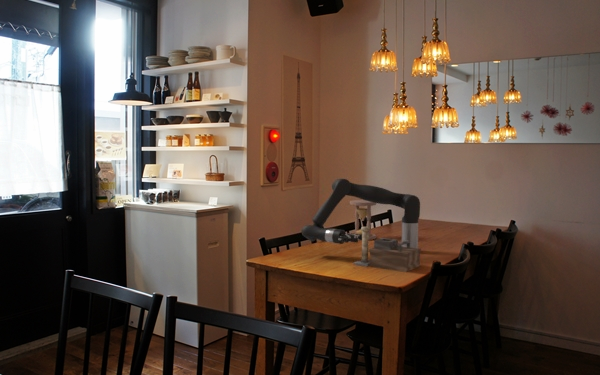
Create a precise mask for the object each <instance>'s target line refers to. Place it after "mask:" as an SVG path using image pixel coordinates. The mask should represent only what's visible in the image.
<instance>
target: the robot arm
mask: <svg viewBox="0 0 600 375" xmlns="http://www.w3.org/2000/svg"><path fill="white" fill-rule="evenodd" d="M331 189H332V192H331V194H330V196H329V197H328V198H327V200H326V201H325V202H324V203H323V204H322V205H320V207H319V209H318V210H317V211H316V213H315V214H314V216H312V217H313V218H312V219H311V220H312V223H313V225H312V224H307V225H305V226H303V227H302V229H301V235H302V236H303V237H304V238H306V239H307V240H308V241H310V242H314V241H317V240H319V241H321V242H328V243H331V244H332V243H333V244H340V245H343V244H344V243H357V244H358V243H359V241H362V236H361V234H353V233H349V232H347V233H346V231H345V230H344V229H337V228H323V227H324V225H325V224H326V222H327V220H328V219H329V217H331V214H332V213H333V211H335V209H336V208H337V206H338V204H339V203H340V202H342V200H343V199H344V198H345V197H346V196H349V197H354V198H358V199H359V200H366V201H369V202H373V203H376V204H377V205H378V204H379V205H389V206H390V205H391V206H394V207H397V208H401V209H403V210H404V213H403V214H404V215H403V216H402V217H401V242H403V241H406V240H410V247H412V248H419V247H418V246H419V245H418V244H419V219H420V215H421V214H420V213H421V201H420V198H419V197H418V196H417V195H413V194H409V193H408V194H407V193H401V192H400V193H398V192H393V191H391V190H389V189H386V188H383V187H380V186H377V185H368V184H358V183H353V182H351V181H349V180H348V179H346V178H338V179H336V180H334V181H333V182H332V184H331ZM357 236H358V238H357ZM402 246H403V247H407V244H404V245H402Z"/></svg>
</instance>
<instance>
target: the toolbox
mask: <svg viewBox="0 0 600 375" xmlns="http://www.w3.org/2000/svg"><path fill="white" fill-rule="evenodd" d="M373 241H374V242H373V246H374V247H371V248H368V253H369V260H370V266H369V267H371V268H378V269H384V270H390V271H398V272H404V273H408V272H409V271H412V270H414V269H416V268H419V267H420V266H421V264H420V263H421V252H422V249H421V248H419V247H418V248H412V247H410V240H406V241H403V242H402V241H401V242H399V239H398V238H397V239H395V238H386V237H380V238H378V239H377V238H376V239H374V240H373ZM404 244H407V247H403V246H402V245H404ZM407 271H408V272H407Z"/></svg>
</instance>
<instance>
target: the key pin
mask: <svg viewBox="0 0 600 375" xmlns="http://www.w3.org/2000/svg"><path fill="white" fill-rule="evenodd" d="M369 228H370V227H367V226H361V228H360V229H361V230H362V240H361V260H362V262H368V260H369V240H368V231H369Z"/></svg>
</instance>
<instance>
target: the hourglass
mask: <svg viewBox="0 0 600 375" xmlns="http://www.w3.org/2000/svg"><path fill="white" fill-rule="evenodd" d="M349 205H351V206H355V211H354V216H355V221H354V228H355V232H354V233H352V234H361V236H362V230H361V228H359V227H360V220H359V217H360V219H361V222H364V221H365V219H366V220H367V221H366V222H367V223H366V227H370V228H369V231H368V241H374V240H377V235H376V234H374V233H371V230H372V222H371V219H372V207H373V206H376V205H377V203H373V202H369V201H366V200H363V199H354V200H349ZM362 206H363V208H362ZM360 207H361V208H360ZM364 207H366V208H364ZM357 238H358V236H357ZM373 239H374V240H373Z"/></svg>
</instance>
